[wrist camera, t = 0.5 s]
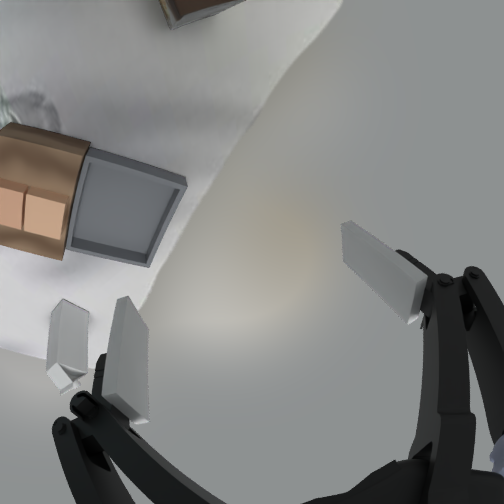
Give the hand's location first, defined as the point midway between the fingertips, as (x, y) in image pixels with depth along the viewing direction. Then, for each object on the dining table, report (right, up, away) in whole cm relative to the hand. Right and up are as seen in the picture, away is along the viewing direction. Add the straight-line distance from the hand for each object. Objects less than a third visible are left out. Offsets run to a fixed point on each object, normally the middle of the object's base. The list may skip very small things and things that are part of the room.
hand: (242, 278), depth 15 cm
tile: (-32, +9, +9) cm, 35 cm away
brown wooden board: (-32, +11, +14) cm, 36 cm away
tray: (-20, +8, +23) cm, 31 cm away
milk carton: (-40, -12, +34) cm, 54 cm away
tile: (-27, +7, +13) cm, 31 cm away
